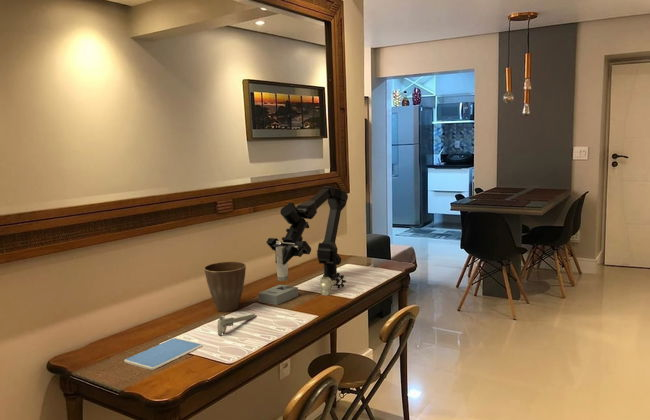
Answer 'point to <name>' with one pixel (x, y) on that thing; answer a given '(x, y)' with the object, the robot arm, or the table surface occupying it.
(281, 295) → the bore block
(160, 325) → the table surface
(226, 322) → the caliper
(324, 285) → the valve
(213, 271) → the plant pot
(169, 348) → the tablet computer
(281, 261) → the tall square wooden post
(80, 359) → the table surface
